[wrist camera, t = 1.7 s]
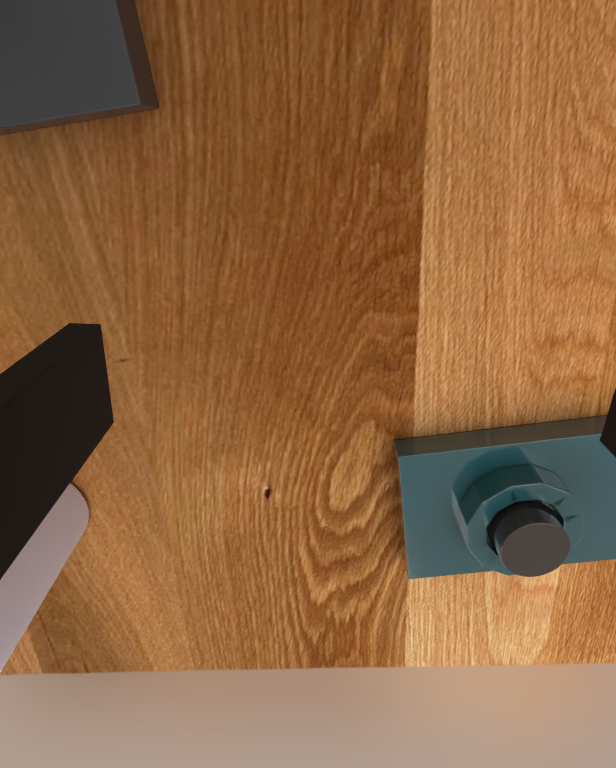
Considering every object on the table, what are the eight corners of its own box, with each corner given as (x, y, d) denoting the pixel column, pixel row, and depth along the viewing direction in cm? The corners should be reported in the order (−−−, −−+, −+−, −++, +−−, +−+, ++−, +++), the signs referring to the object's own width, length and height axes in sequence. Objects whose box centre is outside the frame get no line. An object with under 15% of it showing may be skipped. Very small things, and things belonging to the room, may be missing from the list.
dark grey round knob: (558, 496, 31) (573, 519, 29) (554, 549, 33) (568, 573, 31) (489, 504, 31) (500, 527, 29) (489, 555, 33) (499, 580, 31)
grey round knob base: (618, 413, 33) (656, 447, 29) (603, 538, 37) (635, 581, 33) (393, 439, 34) (402, 475, 30) (403, 558, 38) (413, 602, 34)
